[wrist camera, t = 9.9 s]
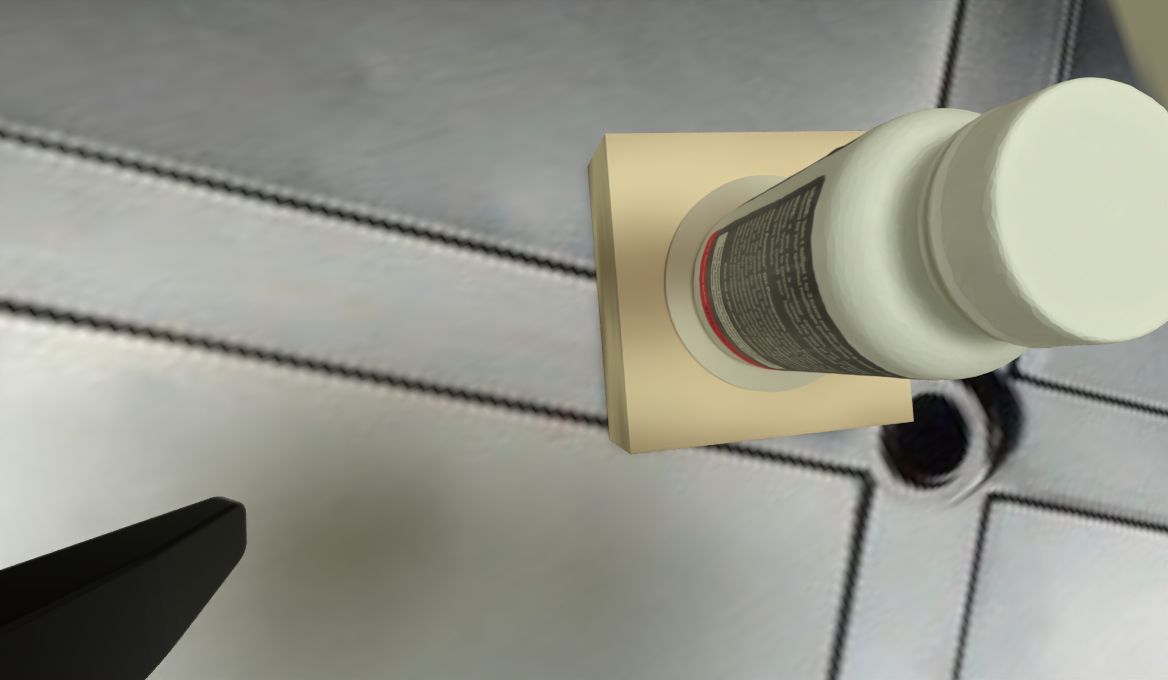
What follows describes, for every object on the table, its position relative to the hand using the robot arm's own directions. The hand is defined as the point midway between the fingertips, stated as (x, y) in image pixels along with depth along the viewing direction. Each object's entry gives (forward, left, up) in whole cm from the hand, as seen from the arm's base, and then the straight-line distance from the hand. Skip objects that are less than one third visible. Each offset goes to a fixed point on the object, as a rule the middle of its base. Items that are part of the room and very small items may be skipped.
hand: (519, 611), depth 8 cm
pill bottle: (+5, -9, -8) cm, 13 cm away
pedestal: (+5, -9, -11) cm, 15 cm away
